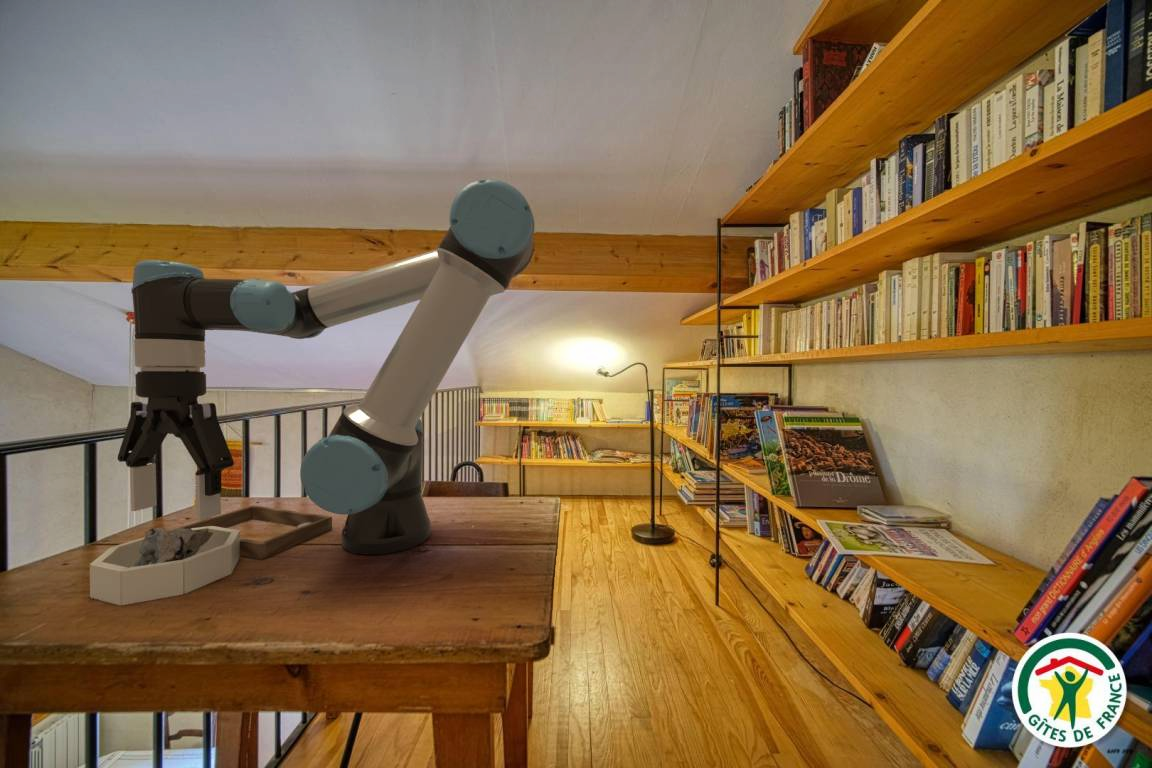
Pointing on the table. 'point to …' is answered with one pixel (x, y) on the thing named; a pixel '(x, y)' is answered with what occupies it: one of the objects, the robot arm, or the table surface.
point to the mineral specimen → (170, 545)
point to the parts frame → (272, 515)
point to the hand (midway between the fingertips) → (175, 512)
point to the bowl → (162, 570)
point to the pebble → (303, 524)
